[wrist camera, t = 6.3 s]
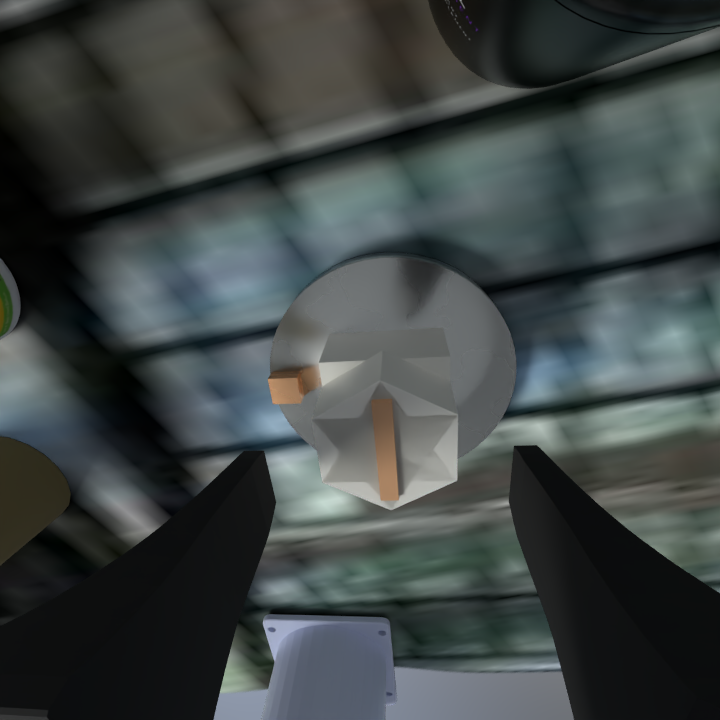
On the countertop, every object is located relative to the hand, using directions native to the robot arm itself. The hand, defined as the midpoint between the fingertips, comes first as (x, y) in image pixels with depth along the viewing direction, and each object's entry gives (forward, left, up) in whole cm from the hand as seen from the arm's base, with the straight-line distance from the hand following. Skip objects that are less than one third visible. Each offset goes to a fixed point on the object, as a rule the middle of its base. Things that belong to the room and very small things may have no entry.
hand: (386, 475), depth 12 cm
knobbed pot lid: (0, 0, -7) cm, 7 cm away
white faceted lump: (0, 0, -6) cm, 6 cm away
